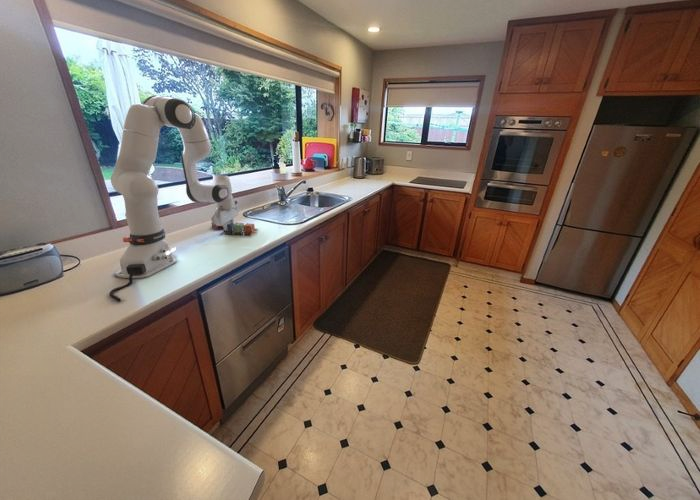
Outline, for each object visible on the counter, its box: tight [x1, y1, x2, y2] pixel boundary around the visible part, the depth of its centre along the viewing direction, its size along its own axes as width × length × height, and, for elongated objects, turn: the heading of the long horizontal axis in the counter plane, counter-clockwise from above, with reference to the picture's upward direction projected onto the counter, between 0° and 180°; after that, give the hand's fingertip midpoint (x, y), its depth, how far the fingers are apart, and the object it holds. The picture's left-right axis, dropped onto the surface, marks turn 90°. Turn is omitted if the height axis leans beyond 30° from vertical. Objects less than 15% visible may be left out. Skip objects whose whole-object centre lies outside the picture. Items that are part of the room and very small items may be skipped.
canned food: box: [210, 214, 230, 231], centre depth 164 cm, size 11×10×10 cm
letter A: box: [233, 222, 245, 233], centre depth 158 cm, size 4×4×4 cm
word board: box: [219, 228, 258, 237], centre depth 159 cm, size 12×17×1 cm
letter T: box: [222, 222, 235, 232], centre depth 158 cm, size 4×4×4 cm
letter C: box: [244, 223, 256, 235], centre depth 157 cm, size 4×4×4 cm
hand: (228, 228), depth 158 cm, fingers closed on letter T, 4 cm apart
